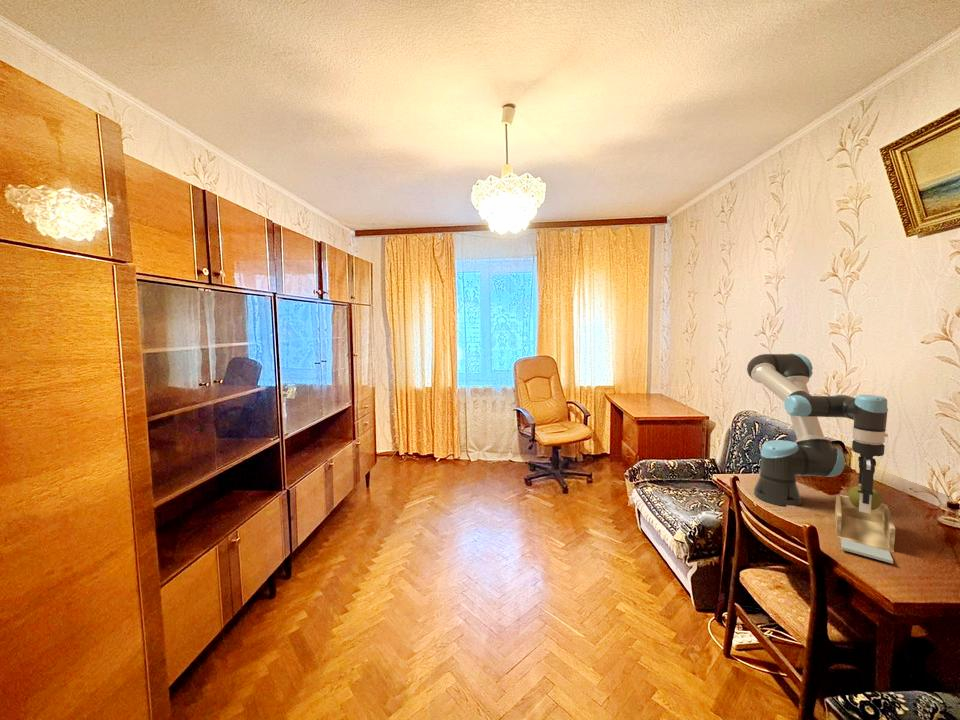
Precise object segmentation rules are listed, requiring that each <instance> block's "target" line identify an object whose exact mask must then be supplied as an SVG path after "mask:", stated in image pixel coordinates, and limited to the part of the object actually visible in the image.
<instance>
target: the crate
mask: <svg viewBox="0 0 960 720" xmlns="http://www.w3.org/2000/svg"><path fill="white" fill-rule="evenodd" d="M888 505H889V504H886V503H883V502H882V503H881V505H880V506H879V507H878V508H877V509H875V510H871V514H869V513H865V512H860V511H859V508H857V507H855V506H854V505H853V504H852V503H851V501H850V499H849V496H848V495H842V494H837V493H836V494H835V508H834V509H835V510H834V516H835V519H834V521H835V522H834V523H835V538H837V539H840V540H841V538H842V539H845V540H849V541H853V542H857V543H861V544H864V545H868V546H872V547H876V548H879V549H883V550H887V551H889V552H890V553H895V538H896V527H895V523H894V521H893V517H892V514H891V511H890V508H889V506H888Z"/></svg>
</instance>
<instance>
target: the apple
mask: <svg viewBox="0 0 960 720" xmlns="http://www.w3.org/2000/svg"><path fill="white" fill-rule="evenodd" d="M858 490H859V491H861V486H858V485H854V486H852V487H850V489H849V490H848V492H847V494H848V495H847V496H849V499H850V501H851V503H852V504H853V505H854V506H855V507H857V508H859V501H860V493H859V492H858ZM869 491H870V490H869ZM881 503H882V504H883V497H882V495H881V493H880V492H879V491H878V490H877V489H875V488H873V495H872V501H871V510H875V509H877V508H878V507H879V506H880V505H881Z"/></svg>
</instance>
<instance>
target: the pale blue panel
mask: <svg viewBox="0 0 960 720" xmlns="http://www.w3.org/2000/svg"><path fill="white" fill-rule="evenodd" d="M840 544H841V547H840V548H841V550H843V551H846V552H848V553H849V552H850V553H853V554H857V555H860V556H864V557H867V558H871V559H875V560H878V561H883V562H885V563H889V564H892V565H893V564H894V559H893V557H892V554H891V552H890V551H887V550H883V549H879V548H876V547H872V546H868V545H864V544H861V543H857V542H853V541H849V540H845V539H842V538H841V539H840Z"/></svg>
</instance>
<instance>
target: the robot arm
mask: <svg viewBox="0 0 960 720" xmlns="http://www.w3.org/2000/svg"><path fill="white" fill-rule="evenodd" d="M813 369H814V368H813V365H812V362H811V360H810V359H809V358H808V357H807V356H805V355H803V354H798V353H764V354H759V355H757V356H754V357H753V358H752V359H750V360H749V362H748V363H747V366H746V372H747V374H748V376H749V378H751V379H752V380H753V381H754V382H756V383H758V384H761V385H763V386H764V387H765V388H767V389H768V390H769V391H770V392H771V393H773V394H774V395H775V396H776V397H777V398H779V399H780V400H781V401H782V402H783V403H784V405H783V406H784V409H785V410H786V413H787V414H788V415H789V417H790V420H791V423H792V426H793V430H794V433H795V437H796V440H795V441H790V440H782V439H774V440H767V441H765V442H764V443H763V444H762V445H761V449H760V469H759V478H758V479H757V482H756V484H755V486H754V488H753V495H754V496H755V498H758V499H759V500H761V501H764V502H766V503H769V504H773V505H777V506H783V507H787V506H794V507H798V506H799V505H801V502H802V499H801V498H802V496H801V494H800V491H799V488H798V485H797V476H807V477H808V476H809V477H822V478H826V477H829V478H830V477H833V478H834V477H838V476H839V475H841V473H842V472H843V471H844V468H845V465H846V460H845V459H846V458H845V455H844V453H843V451H842V450H841V449H840V448H839V447H837V446H833V444H832V441H831V440H830V439H828V438H827V437H825V436H824V433H823V430H822V427H821V424H820V423H821V422H820V421H819V419H818V417H819V418H846V419H849V420H853V428H852V439H853V440H852V444H851V445H852V446H851V450H852V451H853V452H854V453H857V454H859V455H860V456H858V459H857V461H858V468H859V473H858V485H857V486H861V491H859V490H858V492H859V493H860V501H859V511H860V512H865V513H869V514H871V501H872V495H873V489H874V474H875V473H876V472H875V471H876V465H877V460H876V459H875V458H874V457H882V456H883V457H884V455H885V446H886V445H885V444H884V443H885V442H886V438H888V437H889V434H888V433H886V429H887V419H888V412H889V410H888V409H889V408H888V399H887V398H886V397H884V396H883V395H882V396H881V395H873V394H858V395H856V396H855V397H853V396H849V395H848V394H847V395H846V394H834V395H811V394H810V391H809V389H808V385H807V384H808V383H809V381H810V378H811V377H812V375H813V373H814V372H813ZM869 490H870V491H869Z"/></svg>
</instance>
